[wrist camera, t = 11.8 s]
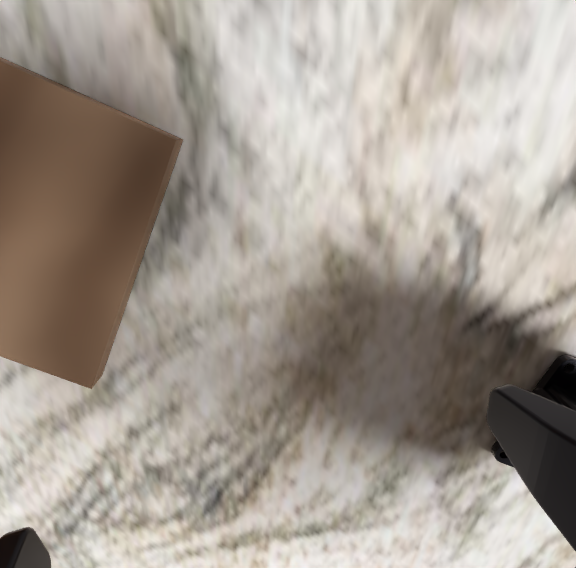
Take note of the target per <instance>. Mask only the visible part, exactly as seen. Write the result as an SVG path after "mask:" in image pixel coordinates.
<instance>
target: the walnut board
mask: <svg viewBox="0 0 576 568" xmlns="http://www.w3.org/2000/svg"><path fill="white" fill-rule="evenodd" d="M182 142H183V139H181V138H178V137H176V136H174V135H172V134H170V133H167V132H165V131H163V130H161V129H158V128H156V127H154V126H152V125H150V124H147V123H145V122H143V121H141V120H139V119H136V118H134V117H132V116H130V115H127V114H125V113H123V112H121V111H119V110H116V109H114V108H112V107H110V106H107V105H105V104H103V103H101V102H99V101H96V100H94V99H92V98H90V97H88V96H85V95H83V94H81V93H79V92H76V91H74V90H72V89H70V88H68V87H65V86H63V85H61V84H59V83H57V82H54V81H52V80H50V79H48V78H45V77H43V76H41V75H39V74H37V73H34V72H32V71H30V70H28V69H25V68H23V67H21V66H19V65H17V64H14V63H12V62H10V61H8V60H6V59H3V58H1V57H0V356H1V357H4V358H7V359H9V360H12V361H15V362H18V363H21V364H23V365H26V366H29V367H32V368H35V369H37V370H40V371H43V372H46V373H49V374H51V375H54V376H57V377H60V378H63V379H65V380H68V381H71V382H74V383H77V384H79V385H82V386H85V387H88V388H91V389H92V388H93V386H94V385H95V384H96V383H97V381H98V380H99V379H100V377H101V376H102V374H103V371H104V368H105V365H106V362H107V360H108V357H109V354H110V351H111V348H112V345H113V342H114V339H115V336H116V333H117V331H118V328H119V325H120V322H121V319H122V316H123V313H124V310H125V307H126V304H127V301H128V299H129V296H130V293H131V290H132V287H133V284H134V281H135V278H136V275H137V272H138V270H139V267H140V264H141V261H142V258H143V255H144V252H145V249H146V246H147V243H148V241H149V238H150V235H151V232H152V229H153V226H154V223H155V220H156V217H157V214H158V211H159V209H160V206H161V203H162V200H163V197H164V194H165V191H166V188H167V185H168V182H169V180H170V177H171V174H172V171H173V168H174V165H175V162H176V159H177V156H178V153H179V150H180V148H181V145H182Z"/></svg>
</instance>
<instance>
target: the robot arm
mask: <svg viewBox="0 0 576 568" xmlns="http://www.w3.org/2000/svg"><path fill="white" fill-rule="evenodd" d="M569 363H570V364H569ZM567 364H569V366H568V367H567V368H564V367H565V366H566V365H567ZM486 418H487V423H488V426H489V428H490V430H491V431H492V433H493V434H494V436H495V438H496V439H497V441H496V442H495V444H494V445H493V447H492V454H493V455H494V457H495V458H496V460H497V461H499V462H501V463H504V464H506V465H509V466H512V467H514V468H515V469H516V471H517V472H518V474H519V475H520V477H521V479H522V480H523V482H524V483H525V485H526V486H527V488H528V489H529V491H530V492H531V494H532V495H533V496H534V498H535V499H536V501H537V502H538V503H539V505H540V506H541V507H542V509H543V510H544V511H545V512H546V514H547V515H548V516H549V518H550V519H551V520H552V521H553V523H554V524H555V525H556V527H557V528H558V529H559V531H560V532H561V533H562V534H563V536H564V537H565V538H566V540H567V541H568V542H569V544H570V545H571V546H572V547H573V549H574V550H575V551H576V358H575V357H573V356H570V355H562V356H560V357H558V358H557V359H556V360H555V362H554V363H553V364H552V366H551V367H550V368H549V370H548V371H547V373H546V374H545V375H544V377H543V378H542V379H541V381H540V382H539V384H538V385H537V386H536V388H535V389H534V390H533V392H532V393H531V392H529V391H527V390H524V389H522V388H520V387H517V386H515V385H511V384H508V385H503V386H500V387H497V388H494V389H492V391H491V392H490V396H489V403H488V409H487V416H486ZM502 451H504V452H503V453H501V452H502ZM0 568H51V560H50V555H49V553H48V551H47V549H46V548H45V546H44V545H43V543H42V541H41V540H40V538H39V537H38V535H37V534H36V532H35V531H34V529H32V528H30V527H26V528H22V529H19V530H16V531H12V532H9V533H7V534H5V535H3V536H2V537H1V538H0ZM575 568H576V567H575Z"/></svg>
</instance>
